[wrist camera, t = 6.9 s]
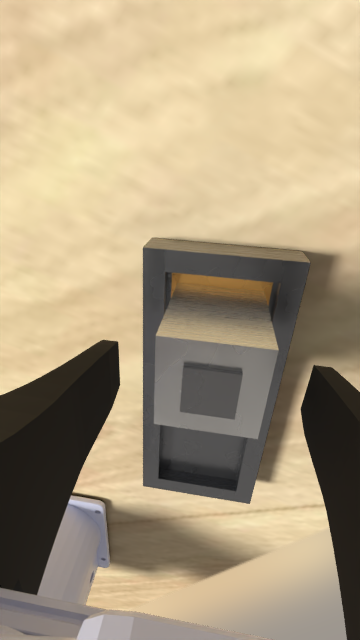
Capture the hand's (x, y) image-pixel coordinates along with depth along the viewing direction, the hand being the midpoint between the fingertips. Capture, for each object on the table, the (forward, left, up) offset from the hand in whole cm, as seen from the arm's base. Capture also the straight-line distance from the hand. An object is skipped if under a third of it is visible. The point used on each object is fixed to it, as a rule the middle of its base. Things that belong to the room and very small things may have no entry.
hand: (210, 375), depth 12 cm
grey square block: (0, 0, -4) cm, 4 cm away
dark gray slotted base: (-4, 0, -5) cm, 7 cm away
